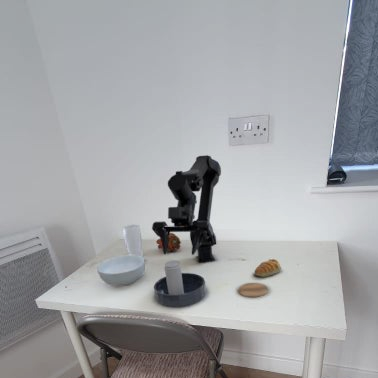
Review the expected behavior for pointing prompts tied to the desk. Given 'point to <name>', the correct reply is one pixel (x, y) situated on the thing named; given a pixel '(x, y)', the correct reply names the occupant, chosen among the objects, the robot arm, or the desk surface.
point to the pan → (192, 291)
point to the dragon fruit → (170, 243)
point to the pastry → (268, 268)
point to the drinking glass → (133, 239)
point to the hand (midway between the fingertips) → (178, 254)
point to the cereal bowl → (121, 269)
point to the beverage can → (174, 278)
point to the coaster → (253, 290)
